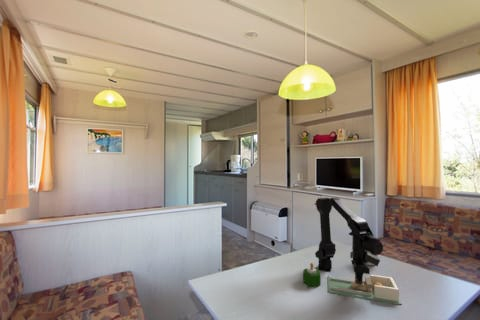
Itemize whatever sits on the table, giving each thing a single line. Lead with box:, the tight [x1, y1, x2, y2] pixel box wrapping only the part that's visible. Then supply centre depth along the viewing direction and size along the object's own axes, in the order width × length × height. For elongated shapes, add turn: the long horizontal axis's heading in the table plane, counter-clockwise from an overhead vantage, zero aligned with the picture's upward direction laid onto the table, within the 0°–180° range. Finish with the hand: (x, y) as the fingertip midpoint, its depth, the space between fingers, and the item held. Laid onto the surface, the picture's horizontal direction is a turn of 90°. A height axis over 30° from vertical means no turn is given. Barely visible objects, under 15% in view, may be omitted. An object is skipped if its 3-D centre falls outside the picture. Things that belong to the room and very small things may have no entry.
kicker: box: [350, 273, 372, 293], centre depth 113 cm, size 8×7×8 cm
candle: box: [302, 262, 322, 288], centre depth 120 cm, size 8×8×10 cm
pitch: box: [327, 274, 402, 306], centre depth 113 cm, size 29×15×5 cm, turn 71°
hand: (359, 279), depth 114 cm, fingers closed on kicker, 3 cm apart
